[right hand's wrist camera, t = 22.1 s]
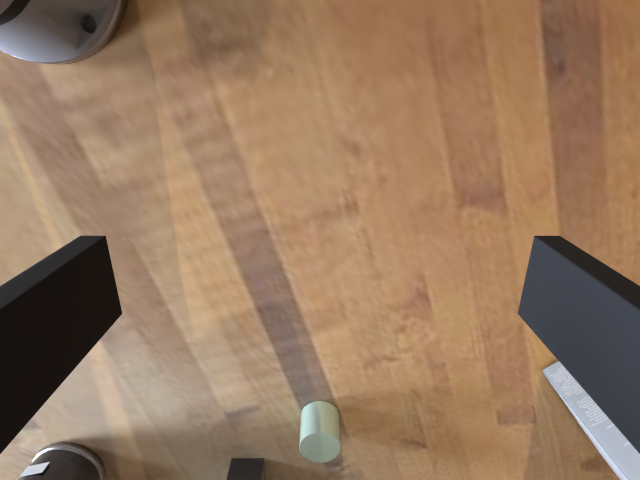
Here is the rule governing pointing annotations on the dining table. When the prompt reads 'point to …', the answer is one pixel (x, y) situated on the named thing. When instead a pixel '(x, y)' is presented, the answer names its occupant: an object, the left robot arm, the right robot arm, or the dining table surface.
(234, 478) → the plank
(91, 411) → the dining table surface
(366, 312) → the dining table surface
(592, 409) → the hard drive box
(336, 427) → the mint green cylinder
